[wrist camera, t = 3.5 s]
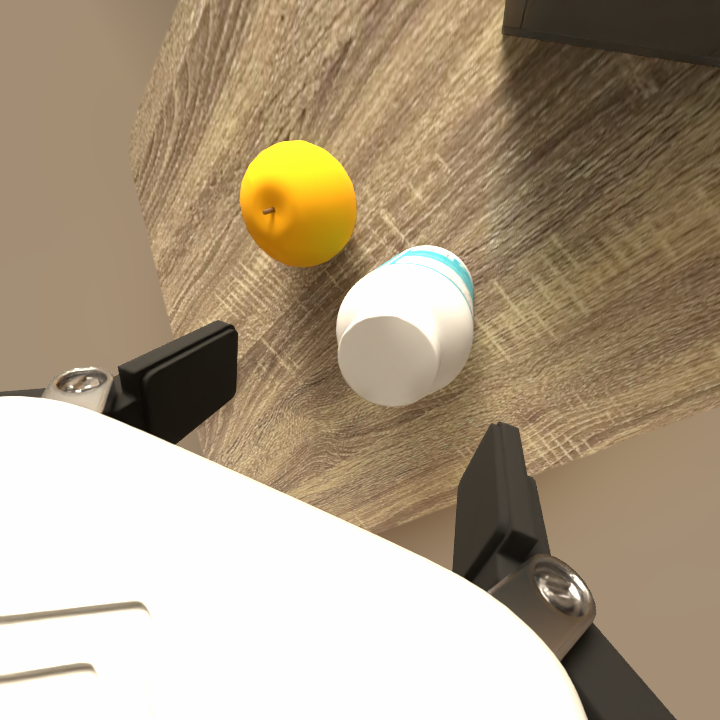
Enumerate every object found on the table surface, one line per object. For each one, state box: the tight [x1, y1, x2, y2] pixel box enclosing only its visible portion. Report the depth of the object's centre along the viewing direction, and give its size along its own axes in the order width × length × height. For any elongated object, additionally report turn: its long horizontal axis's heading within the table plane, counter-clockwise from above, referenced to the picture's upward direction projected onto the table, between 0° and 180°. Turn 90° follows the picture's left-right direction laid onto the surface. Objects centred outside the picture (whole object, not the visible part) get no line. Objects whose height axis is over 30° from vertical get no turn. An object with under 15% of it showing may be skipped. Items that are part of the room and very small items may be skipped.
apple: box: [240, 141, 357, 267], centre depth 23 cm, size 8×8×8 cm
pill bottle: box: [336, 246, 474, 407], centre depth 21 cm, size 8×7×14 cm
